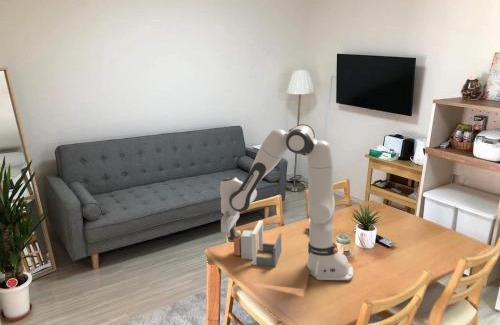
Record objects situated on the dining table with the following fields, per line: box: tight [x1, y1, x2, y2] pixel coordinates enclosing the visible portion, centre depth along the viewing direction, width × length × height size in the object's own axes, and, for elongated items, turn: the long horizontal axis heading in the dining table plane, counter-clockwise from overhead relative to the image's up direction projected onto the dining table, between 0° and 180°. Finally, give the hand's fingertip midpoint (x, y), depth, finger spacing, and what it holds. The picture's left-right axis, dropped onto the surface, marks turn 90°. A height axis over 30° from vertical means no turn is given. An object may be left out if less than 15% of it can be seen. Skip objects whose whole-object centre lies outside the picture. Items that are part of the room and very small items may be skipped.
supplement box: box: [240, 230, 259, 260], centre depth 196 cm, size 7×7×13 cm
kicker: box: [227, 225, 242, 256], centre depth 197 cm, size 7×5×14 cm
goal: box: [251, 220, 282, 268], centre depth 193 cm, size 12×16×16 cm
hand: (231, 233), depth 197 cm, fingers open, 6 cm apart
